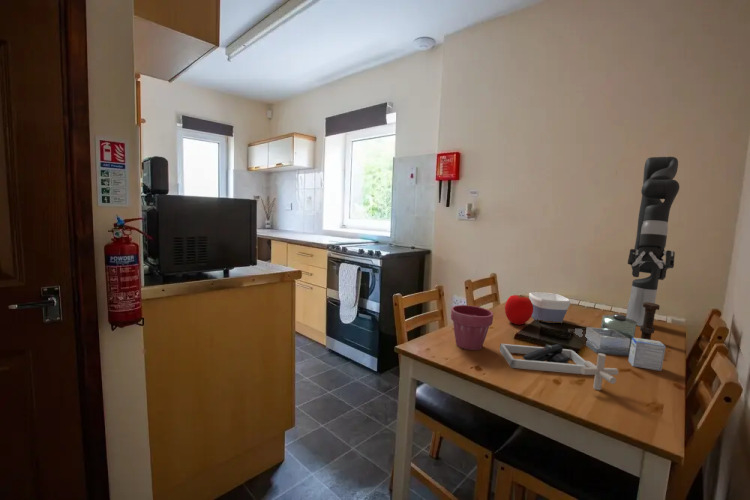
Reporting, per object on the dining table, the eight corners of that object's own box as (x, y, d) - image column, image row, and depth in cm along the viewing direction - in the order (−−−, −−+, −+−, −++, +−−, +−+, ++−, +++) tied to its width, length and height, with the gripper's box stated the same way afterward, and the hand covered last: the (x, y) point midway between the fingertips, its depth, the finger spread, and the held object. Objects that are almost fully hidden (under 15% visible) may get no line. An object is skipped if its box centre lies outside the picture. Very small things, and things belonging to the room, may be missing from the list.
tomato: (497, 320, 154) (500, 292, 152) (515, 318, 159) (518, 290, 157) (517, 329, 144) (521, 299, 142) (536, 326, 149) (539, 297, 147)
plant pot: (466, 335, 133) (469, 302, 132) (498, 348, 122) (502, 313, 120) (440, 341, 125) (443, 307, 124) (471, 356, 114) (475, 319, 112)
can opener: (553, 355, 119) (555, 340, 119) (571, 364, 113) (573, 348, 112) (513, 362, 112) (515, 345, 111) (531, 372, 106) (533, 354, 105)
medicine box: (655, 366, 115) (659, 341, 114) (661, 371, 111) (666, 345, 110) (627, 361, 118) (631, 336, 117) (632, 366, 114) (636, 341, 113)
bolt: (648, 338, 142) (654, 302, 140) (657, 343, 137) (663, 306, 135) (633, 337, 143) (639, 301, 141) (641, 341, 138) (647, 305, 136)
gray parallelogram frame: (499, 350, 120) (500, 343, 120) (571, 356, 119) (572, 349, 118) (511, 367, 107) (511, 359, 107) (591, 375, 106) (592, 367, 105)
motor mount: (567, 331, 145) (570, 307, 144) (622, 335, 143) (626, 312, 142) (596, 353, 123) (600, 325, 122) (661, 358, 122) (666, 331, 120)
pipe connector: (568, 379, 102) (573, 346, 101) (600, 379, 103) (605, 347, 102) (592, 398, 92) (598, 362, 91) (627, 398, 93) (633, 363, 92)
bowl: (572, 326, 151) (575, 302, 150) (536, 324, 152) (539, 299, 150) (554, 315, 167) (557, 293, 165) (522, 313, 167) (525, 291, 165)
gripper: (683, 235, 121) (676, 281, 121) (640, 235, 135) (634, 277, 135) (668, 232, 119) (661, 279, 119) (626, 232, 132) (621, 275, 132)
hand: (647, 278), depth 127 cm, fingers open, 8 cm apart
